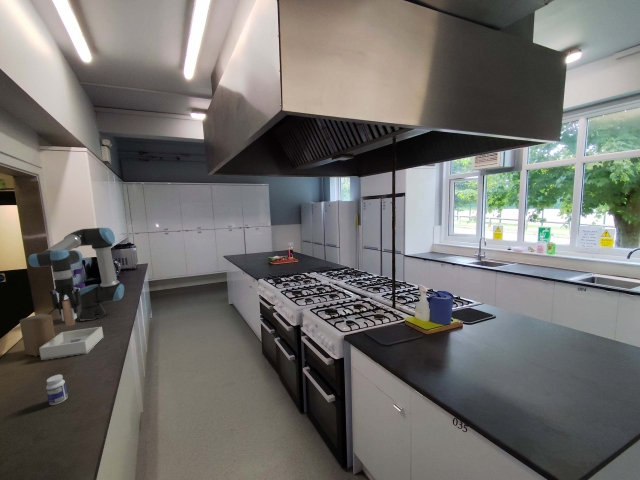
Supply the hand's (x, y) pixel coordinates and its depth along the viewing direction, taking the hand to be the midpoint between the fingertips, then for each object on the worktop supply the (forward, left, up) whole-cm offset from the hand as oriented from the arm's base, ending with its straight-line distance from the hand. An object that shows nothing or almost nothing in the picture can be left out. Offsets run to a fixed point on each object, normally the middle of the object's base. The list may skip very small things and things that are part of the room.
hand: (69, 319), depth 159 cm
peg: (0, 0, -3) cm, 3 cm away
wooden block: (-3, -17, -17) cm, 24 cm away
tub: (0, 0, -17) cm, 17 cm away
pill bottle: (+52, +18, -17) cm, 58 cm away
